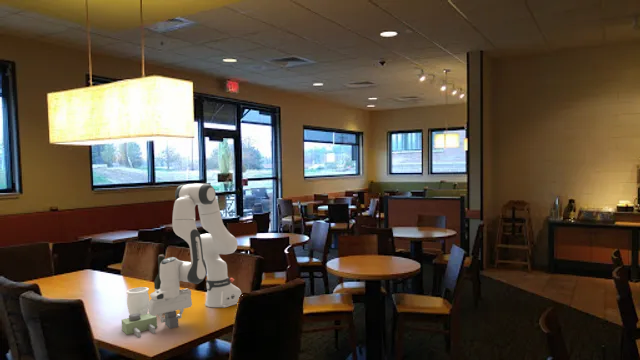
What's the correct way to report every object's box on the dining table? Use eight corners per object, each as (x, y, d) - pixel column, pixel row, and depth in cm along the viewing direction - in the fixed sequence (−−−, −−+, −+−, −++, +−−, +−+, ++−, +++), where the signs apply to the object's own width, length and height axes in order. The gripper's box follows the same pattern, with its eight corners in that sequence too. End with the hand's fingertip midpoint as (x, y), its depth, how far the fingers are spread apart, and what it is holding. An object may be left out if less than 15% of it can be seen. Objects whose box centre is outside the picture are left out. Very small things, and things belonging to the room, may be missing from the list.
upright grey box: (173, 322, 221) (172, 308, 220) (178, 326, 215) (177, 312, 215) (165, 324, 218) (164, 310, 218) (170, 328, 213) (169, 314, 212)
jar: (143, 313, 236) (142, 285, 235) (154, 317, 229) (152, 288, 229) (124, 319, 228) (122, 290, 227) (134, 323, 221) (132, 293, 220)
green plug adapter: (151, 322, 222) (151, 308, 221) (162, 331, 210) (161, 316, 209) (122, 330, 213) (121, 315, 213) (130, 339, 201) (130, 323, 201)
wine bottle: (175, 308, 243) (172, 253, 241) (165, 313, 235) (162, 257, 234) (162, 307, 245) (160, 253, 244) (152, 312, 238) (149, 256, 236)
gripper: (188, 286, 225) (189, 313, 225) (146, 294, 212) (148, 323, 213) (193, 288, 220) (194, 316, 220) (151, 297, 207) (152, 327, 208)
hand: (171, 320), depth 216 cm, fingers open, 7 cm apart
